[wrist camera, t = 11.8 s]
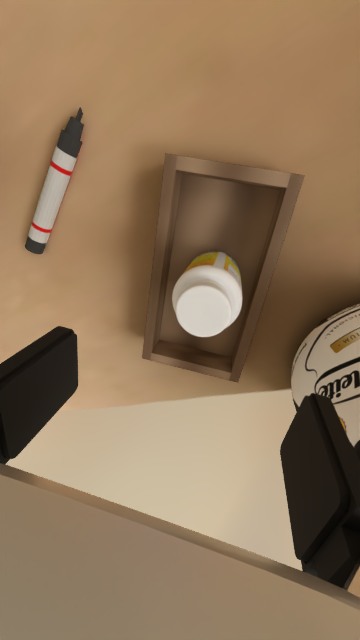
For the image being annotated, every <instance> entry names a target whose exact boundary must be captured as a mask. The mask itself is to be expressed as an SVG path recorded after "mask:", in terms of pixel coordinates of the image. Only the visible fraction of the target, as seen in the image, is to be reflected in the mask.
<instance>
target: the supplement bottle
mask: <svg viewBox="0 0 360 640" xmlns="http://www.w3.org/2000/svg"><path fill="white" fill-rule="evenodd" d="M172 303H173V308H174V311H175V313H176V317H177V320H178V322H179V323H180V325H181V326H182V327H183V329H185V330H186V331H187V332H189V333H190V334H192V335H195V336H199V337H210V336H214V335H216V334H218V333H220V332H221V331H223V330H224V329H225V328H227V327H228V326H230V325H231V324H232V323H233V322H234V321H235V319H236V318H237V317H238V315H239V313H240V310H241V307H242V285H241V274H240V270H239V267H238V265H237V263H236V262H235V260H234V259H233V258H232V257H230V256H229V255H227V254H225V253H223V252H219V251H209V252H205V253H202V254H200V255H199V256H197V257H196V258H195V259H194V260H193V261H192V262H191V264H190V265H189V266H188V268H187V269H186V270H185V272H184V273H183V274H182V275H181V277H180V278H179V279H178V281H177V283H176V285H175V287H174V290H173V294H172Z"/></svg>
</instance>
